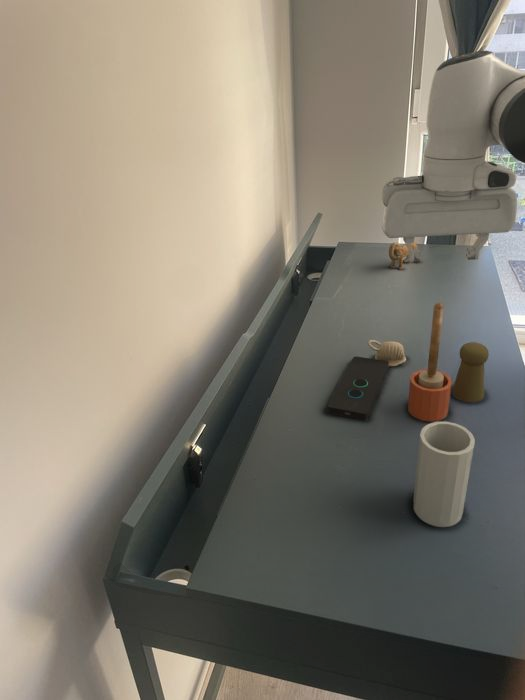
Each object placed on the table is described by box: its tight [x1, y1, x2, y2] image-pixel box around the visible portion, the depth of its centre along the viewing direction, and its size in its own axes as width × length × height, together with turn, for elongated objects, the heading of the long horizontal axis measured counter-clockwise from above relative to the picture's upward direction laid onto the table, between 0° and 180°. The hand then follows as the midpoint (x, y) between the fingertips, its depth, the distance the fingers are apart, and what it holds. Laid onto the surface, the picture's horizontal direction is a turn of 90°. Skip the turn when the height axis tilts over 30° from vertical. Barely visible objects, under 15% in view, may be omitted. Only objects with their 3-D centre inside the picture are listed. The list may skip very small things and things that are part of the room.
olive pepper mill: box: [451, 341, 490, 403], centre depth 103 cm, size 6×6×11 cm
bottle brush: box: [418, 302, 444, 389], centre depth 96 cm, size 4×4×22 cm
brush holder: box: [407, 368, 453, 423], centre depth 100 cm, size 7×7×7 cm
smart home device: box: [327, 355, 390, 421], centre depth 109 cm, size 8×2×20 cm
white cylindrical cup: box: [412, 421, 476, 528], centre depth 77 cm, size 7×7×14 cm
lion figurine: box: [388, 241, 418, 270], centre depth 164 cm, size 15×5×9 cm, turn 135°
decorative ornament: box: [367, 339, 407, 367], centre depth 117 cm, size 4×8×5 cm, turn 75°
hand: (442, 259), depth 87 cm, fingers open, 8 cm apart
